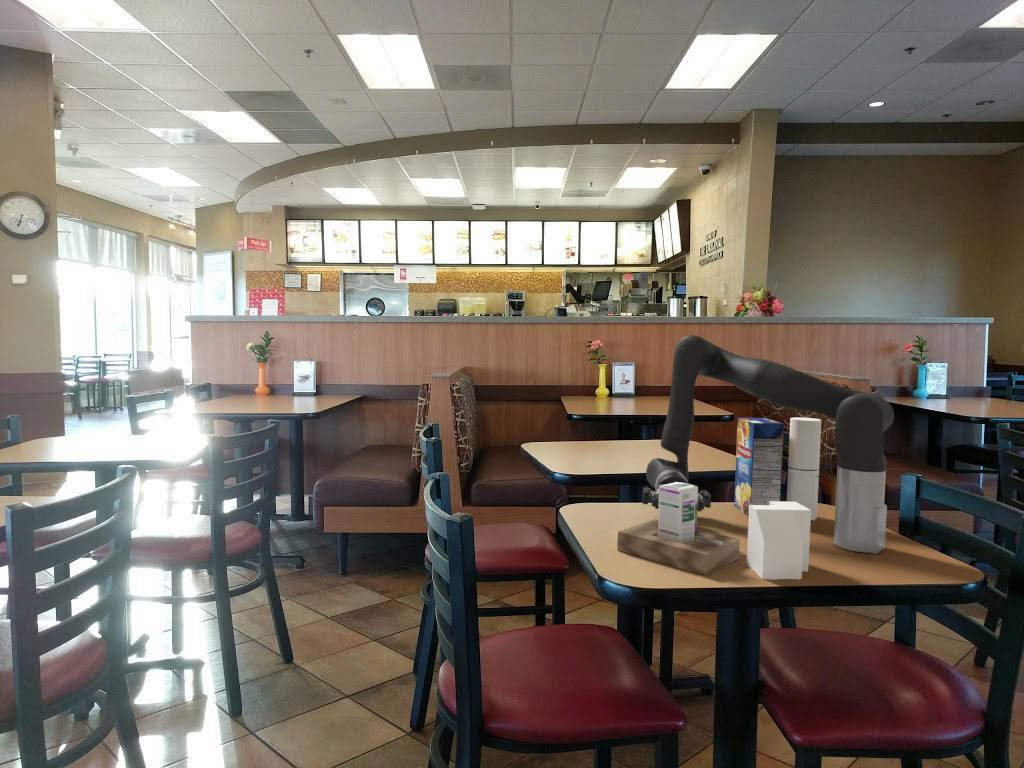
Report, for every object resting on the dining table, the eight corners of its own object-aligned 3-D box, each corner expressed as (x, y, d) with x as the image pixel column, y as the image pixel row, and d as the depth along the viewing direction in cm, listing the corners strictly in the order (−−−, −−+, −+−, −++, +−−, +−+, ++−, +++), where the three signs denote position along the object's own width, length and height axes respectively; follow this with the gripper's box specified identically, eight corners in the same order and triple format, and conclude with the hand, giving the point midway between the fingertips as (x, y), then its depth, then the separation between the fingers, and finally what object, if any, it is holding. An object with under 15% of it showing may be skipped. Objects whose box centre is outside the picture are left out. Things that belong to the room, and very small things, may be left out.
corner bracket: (793, 559, 132) (795, 501, 131) (819, 580, 121) (822, 516, 120) (740, 559, 132) (743, 500, 131) (762, 579, 121) (764, 515, 120)
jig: (739, 558, 132) (740, 535, 132) (705, 575, 122) (705, 550, 122) (654, 536, 146) (654, 515, 146) (617, 550, 136) (617, 527, 136)
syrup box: (679, 560, 130) (682, 489, 129) (656, 553, 135) (658, 483, 134) (696, 555, 134) (699, 485, 133) (673, 548, 138) (675, 480, 137)
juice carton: (734, 505, 176) (737, 417, 174) (761, 506, 175) (765, 417, 174) (749, 517, 164) (753, 423, 162) (779, 518, 164) (783, 423, 162)
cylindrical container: (779, 514, 167) (784, 418, 165) (799, 512, 170) (804, 417, 168) (802, 521, 161) (807, 421, 159) (823, 519, 164) (827, 420, 162)
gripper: (641, 470, 151) (644, 485, 135) (704, 473, 149) (714, 489, 133) (640, 502, 152) (642, 521, 136) (703, 506, 150) (713, 525, 134)
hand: (678, 505), depth 135 cm, fingers open, 8 cm apart
